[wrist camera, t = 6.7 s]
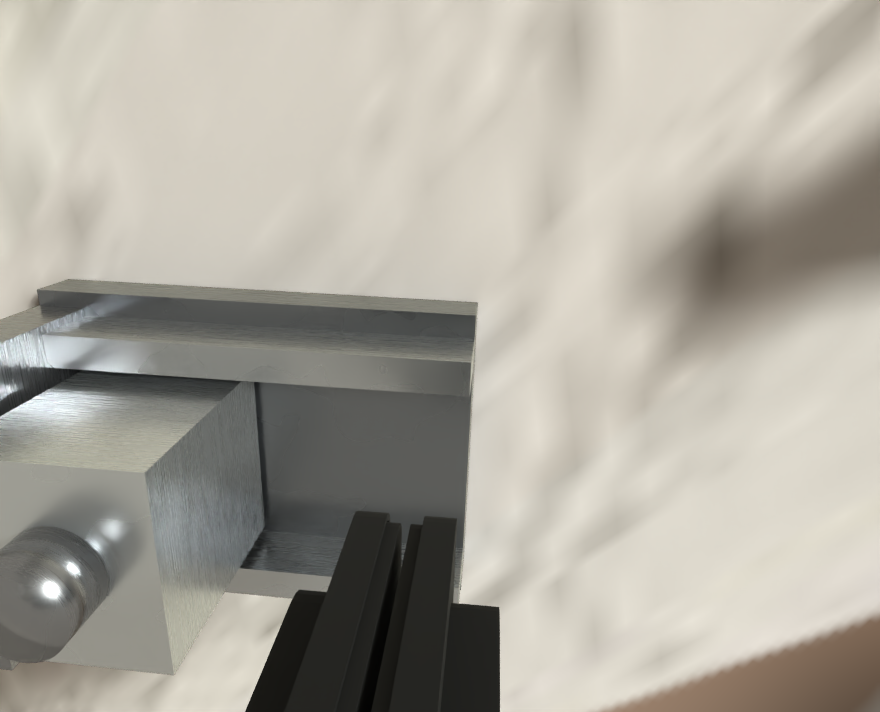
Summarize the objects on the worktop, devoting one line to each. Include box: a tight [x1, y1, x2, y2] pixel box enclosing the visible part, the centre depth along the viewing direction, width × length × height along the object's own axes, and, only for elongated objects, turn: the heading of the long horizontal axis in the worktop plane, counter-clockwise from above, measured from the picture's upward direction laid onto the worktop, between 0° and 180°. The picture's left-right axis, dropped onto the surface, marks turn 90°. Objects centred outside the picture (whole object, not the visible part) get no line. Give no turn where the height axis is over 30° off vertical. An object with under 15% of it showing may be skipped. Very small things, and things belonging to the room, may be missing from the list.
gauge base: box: [0, 279, 478, 670], centre depth 15 cm, size 11×8×6 cm
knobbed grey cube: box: [0, 370, 265, 675], centre depth 14 cm, size 4×6×6 cm, turn 178°
